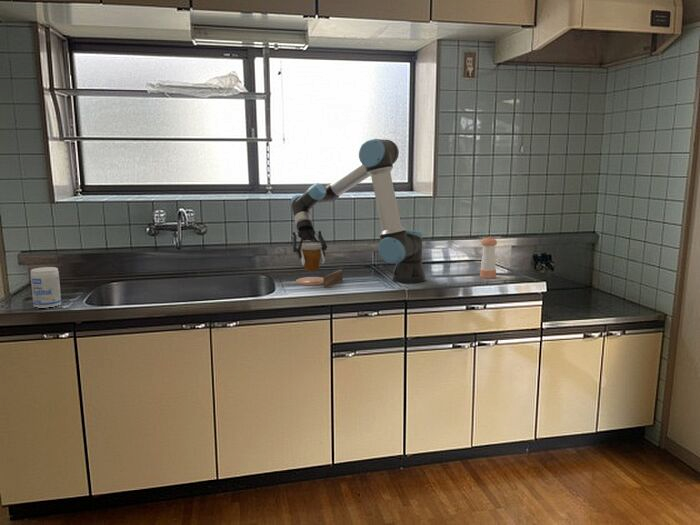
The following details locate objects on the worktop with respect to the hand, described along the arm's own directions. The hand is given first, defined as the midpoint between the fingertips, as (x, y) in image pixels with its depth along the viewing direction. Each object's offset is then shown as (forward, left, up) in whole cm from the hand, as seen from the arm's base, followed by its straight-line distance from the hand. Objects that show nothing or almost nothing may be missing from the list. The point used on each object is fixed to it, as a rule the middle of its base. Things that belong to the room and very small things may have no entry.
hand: (313, 262), depth 248 cm
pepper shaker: (-69, -45, -10) cm, 83 cm away
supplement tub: (+75, +77, -10) cm, 108 cm away
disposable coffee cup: (+2, -2, -4) cm, 5 cm away
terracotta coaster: (+2, -2, -9) cm, 10 cm away
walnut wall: (-9, -2, -9) cm, 13 cm away
